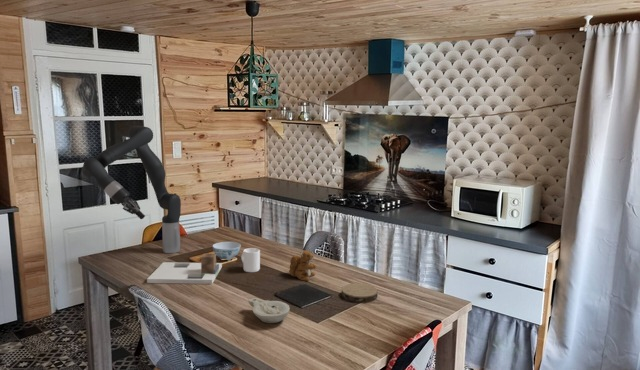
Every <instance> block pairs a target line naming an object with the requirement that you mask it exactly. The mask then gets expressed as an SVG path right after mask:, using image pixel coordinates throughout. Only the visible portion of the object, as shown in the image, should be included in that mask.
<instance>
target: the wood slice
mask: <svg viewBox="0 0 640 370" xmlns="http://www.w3.org/2000/svg"><path fill="white" fill-rule="evenodd" d="M378 292H379V291H378V289H377V288H376V287H375V286H373V285H370V284H367V283H359V282H358V283H348V284H345V285H344V286H342V288H341V297H342V298H343V299H344V300H345V301H349V302H353V303H360V304H361V303H369V302H374V301H375V300H377V299H378V294H379V293H378Z"/></svg>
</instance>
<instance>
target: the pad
mask: <svg viewBox="0 0 640 370" xmlns="http://www.w3.org/2000/svg"><path fill="white" fill-rule="evenodd" d="M219 273H220V271H219V269H218V271H217V272H216V274H215V279H216V278H217V277H218V275H219ZM205 274H213V273H201V277H203V276H204V275H205Z"/></svg>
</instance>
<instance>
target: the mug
mask: <svg viewBox="0 0 640 370" xmlns="http://www.w3.org/2000/svg"><path fill="white" fill-rule="evenodd" d="M240 259H241V262H242V264H243V266H242V267H243V271H244V272H246V273H256V272H259V271H260V270H261V249H259V248H255V247H253V248H252V247H251V248H244V249H243V251H242V253H241V255H240Z"/></svg>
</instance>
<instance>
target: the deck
mask: <svg viewBox="0 0 640 370" xmlns="http://www.w3.org/2000/svg"><path fill="white" fill-rule="evenodd" d="M222 267H223V263H222V262H216V267H215V268H214V270H213V274H205V275H204V276H203V277H201V262H176V261H175V262H171V261H170V262H169V261H167V262H166V261H163V262H162V263H161V264H160V265H159V266H158V267H157V268H156V269H155V270H154V271H153V273H151V274H150V275H149V276H148V277H147V278H146V284H181V285H182V284H184V285H186V284H191V285H213V283H214V281H215V280H216V278H215V274H216V272H217V271H218V269H219V272H220V271H221V270H222Z"/></svg>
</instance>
